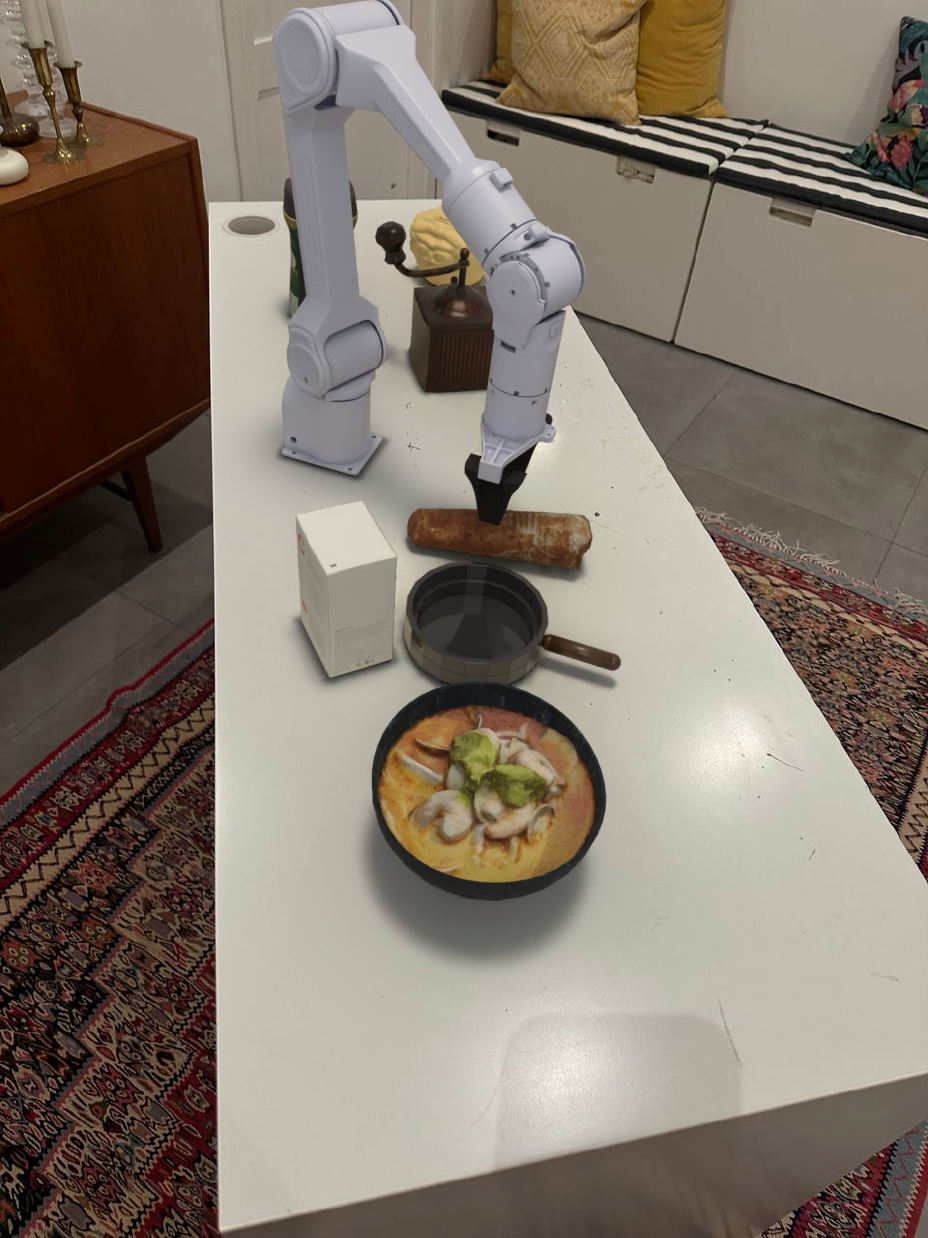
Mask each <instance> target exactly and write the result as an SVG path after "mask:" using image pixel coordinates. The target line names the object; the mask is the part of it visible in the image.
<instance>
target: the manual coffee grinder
mask: <svg viewBox="0 0 928 1238" xmlns="http://www.w3.org/2000/svg"><path fill="white" fill-rule="evenodd" d="M374 238H375V242H376V244H377V245H379V247H381V248H382V250H383V251H384V252H385V253H384V255H385V257H384V263H386V264H387V265H391V266H394V268H395V269H396V270H397V271H398V273H400V274H401V275H403V276H405V277H409V278H413V279H414V278H415V279H416V278H417V279H418V278H425V277H431V276H438V275H444V274H449V273H452V272H455V271H457V270H459V281H458V278H457V277H456V276H453V277H452V278H451V283H449V284H442V285H439V286H436V285H435V286H418V287H417V286H414V287H413V291H412V292H413V293H412V310H411V311H412V312H411V331H410V341H409V342H410V343H409V348H408V352H409V357H410V363H411V365H412V367H413V370H414V373H415V376H416V378H417V381H418V382H419V384H420V385H421V387H422V389H423V390H424V391H425V392H427V393H452V392H453V393H454V392H470V391H480V390H487V386H488V379H489V373H490V365H491V357H492V350H493V342H494V329H492V325H493V311H492V308H491V305H490V303H489V300H488V297H487V292H486V285H471V286H469V285H465V280H466V271H467V267H469V266H470V262H469V260H468V258H469V255H470V251H469V250H468V249H467V248H462V249H461V250H460V259H459V260H458V263H455V264H452V265H448V266H445V267H441V268H435V269H427V270H420V269H418V270H417V269H410V268H407V267H406V265H404V264H403V263H404V262H405V261H406V259H407V254H406V253H405V250H404V249H403V248H404V244H405V242H406V240H407V232H406V228H405V227H404V225H403V224H401V223H399V222H396V221H394V220H391V221H390V220H389V221H386V222H384V223H382V224H380V225H379V226H378V227H377V228H376V232H375V236H374Z"/></svg>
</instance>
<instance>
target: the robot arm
mask: <svg viewBox="0 0 928 1238" xmlns="http://www.w3.org/2000/svg"><path fill="white" fill-rule="evenodd" d="M404 21H405V20H404V19H403V17H402V15H401V13H400V11H399V9H398V8H396V6H395V5H394V4H393V3H392V1H390V0H361V1H353V2H346V3H339V4H333V5H326V6H319V7H312V8H308V7H304V6H303V7H296V8H293V9H292V10H290V11H289V12H288V13H287V14H286V15H285V16H284V18H283V20H282V21H281V22H280V24H279V26H278V27H277V28H276V29H275V32H274V33H273V34H272V37H271V40H272V48H273V55H274V63H275V71H276V77H277V86H278V93H279V100H280V108H281V115H282V122H283V130H284V131H283V132H284V138H285V145H286V153H287V161H288V167H289V169H288V170H289V175H290V178H291V184H292V191H293V199H294V206H295V214H296V221H297V229H298V237H299V244H300V252H301V259H302V267H303V274H304V282H305V289H306V297H305V299H304V301H303V302H302V304H301V305H300V306H299V308H298V309H297V311H296V312H295V313H294V315H293V316H291V318H290V319H289V321H288V323H287V329H288V330H287V331H288V344H287V348H286V361H287V367H288V371H289V373H290V375H289V377H288V379H287V380H286V383H285V386H284V388H283V393H282V400H281V412H282V427H283V441H284V442H283V443H284V447H283V448H282V450H281V454H282V455H283V456H285V457H287V458H291V459H294V460H298V461H302V462H304V463H305V462H306V463H309V464H312V465H316V466H319V467H322V468H327V469H329V470H333V471H337V472H340V473H342V474H346V475H349V476H353V477H355V476H358V475H359V474H360V473H361V472H362V470H363V469H364V467H365V466H366V465H367V463H368V461H369V460H370V458H371V457H372V455H373V454H374V453H375V452H376V450H378V448H379V446H380V445H381V444H382V442H383V437H382V436H381V435H377V434H375V433H371V403H372V402H371V400H372V399H371V394H372V382H374V381H375V380H376V371H377V370H378V369H380V368H381V367H383V365H384V364H385V362H386V360H387V356H388V345H387V341H386V336H385V334H384V332H383V329H382V327H381V322H380V318H379V308H378V307H377V306H376V304H374V303H373V302H372V301H371V300H369V299H368V298H365V297H364V296H362V295H361V294H360V287H359V286H360V285H359V275H358V265H357V253H356V252H357V251H356V243H355V242H356V241H355V229H354V230H353V219H352V208H351V197H350V186H349V180H350V177H349V167H348V154H347V145H346V134H345V124H346V122H347V121H348V120H349V119H350V117H351V116H352V115H353V114H354V113H355V111H356V110H363V111H368V112H374V113H375V112H376V113H379V114H381V115H383V116H384V117H385V119H386V120H387V121H388V122H389V124H390V125H391V126H392V127H393V128H394V130H395V131H396V132H397V133H398V135H399V136H400V137H401V138H402V139H403V141H404V142H405V143H406V144H407V145H408V147H409V148H410V149H411V150H412V152H413V153H414V154H415V155H416V156H417V157H418V159H419V160H420V161H421V162H422V163H423V165H424V166H425V167H426V168H427V170H428V171H429V172H430V173H431V175H432V176H433V177H434V178H435V179H436V181H437V182H438V183H439V184H440V186H442V193H441V195H442V196H441V205H442V211H443V213H444V214H445V216H446V217H447V218H448V220H449V221H450V223H451V224H452V226H453V227H454V228H455V230H456V231H457V232H458V234H459V235H460V237H461V238H462V239H463V241H464V242H465V244H466V245H467V246H468V248H469V249H470V251H471V252H472V253H473V255H474V256H475V258H476V259H477V260H478V262H479V263H480V265H481V266H482V268H483V269H484V270H485V274H486V275H487V277H486V278H485V286H486V292H487V297H488V300H489V303H490V305H491V308H492V311H493V325H492V329H494V342H493V350H492V357H491V365H490V373H489V379H488V386H487V389H486V393H485V403H484V410H483V412H482V414H481V418H480V424H479V425H480V441H481V455H479V454H477V453H476V454H475V453H470V454H469V455H468V457H467V459H466V460H465V462H464V467H463V468H464V475H465V476H466V478H467V480H468V481H469V483H470V485H471V487H472V490H473V493H474V498H475V504H476V509H477V511H478V517H479V520H480V521H483V522H486V523H490V524H493V525H496V526H498V525H499V524H500V523H501V521H502V519H503V517H504V514H505V512H506V510H508V506H509V503H510V501H511V498H512V496H513V495H514V494H515V493H516V491H518V490H519V489H520V487H521V486H522V485H523V483H524V482H525V479H526V476H527V475H528V473H527V469H528V467H529V464H530V462H531V459H532V457H533V454H534V452H535V450H536V447H537V446H538V444H539V443H545V444H551V443H552V442H553V441H554V439H555V437H556V434H557V427H556V426H554V425H552V423H553V419H554V418H553V416H552V415H551V414H550V413H548V408H549V407H548V406H549V403H550V397H551V392H552V386H553V380H554V377H555V371H556V366H557V362H558V361H557V360H558V356H559V351H560V345H561V341H562V335H563V330H564V324H565V320H566V315H567V309H565V308H567V307H569V306H570V305H571V304H573V303H574V302H575V301H577V300H578V299H579V298H580V296H581V295H582V293H583V291H584V288H585V286H586V277H587V275H586V273H587V272H586V266H585V262H584V259H583V257H582V254H581V252H580V251H579V250H578V247H577V245H576V242H575V241H574V240H573V239H571V238H569V236H567V235H564V234H561V233H559V232H558V233H557V232H554V231H553V230H551V228H549V226H548V225H546V226H545V225H544V224H543V223H542V222H540V221H539V219H538V218H537V217H536V216H535V214H534V212H533V211H532V210H531V208H530V207H529V205H528V204H527V203H526V201H525V200H524V198H523V197H522V195H521V194H520V193H519V192H518V190H517V189H516V187H515V186H514V184H513V182H514V178H513V176H512V175H511V174H510V172H509V170H508V169H507V168H506V167H503V168H502V167H501V166H500V164H499V163H498V161H497V162H496V161H494V160H490V159H482V158H478V157H476V156H475V153H473V151H472V149H471V148H470V146H469V144H468V143H467V141H466V139H465V138H464V136H463V134H462V133H461V131H460V129H459V127H458V126H457V124H456V123H455V121H454V119H453V118H452V116H451V114H450V113H449V111H448V109H447V108H446V107H445V104H444V102H442V100H441V98H440V96H439V95H438V93H437V91H436V90H435V87H434V86H433V85H432V83H431V81H430V80H429V78H428V76H427V75H426V73H425V72H424V70H423V69H422V67H421V65H420V63H419V62H418V60H417V57H418V49H417V45H418V44H417V37H416V35H415V32H413V30H412V29H411V28H410V27H409V26H408V25H407V24H405V22H404Z"/></svg>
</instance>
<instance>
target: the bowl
mask: <svg viewBox="0 0 928 1238" xmlns="http://www.w3.org/2000/svg"><path fill="white" fill-rule="evenodd" d="M371 767H372V768H371V797H372V799H371V800H372V805H373V810H374V812H375V813H374V814H375V816H376V820H377V824H378V827H379V829H380V832H381V834H382V835H383V838H384V839H385V841H386V843H387V844H388V846H389V847H390V849H391V851H392V852H393V853H394V854H395V856H397V858H398V859H399V860H400V861H401V862H402V863H403V865H404V866H405V867H406V868H407V869H408V870H410V871H411V872H413V873H414V874H415V875H417V876H418V877H419V878H420V879H421V880H423V881H424V882H426V883H427V884H429V885H430V886H433V887H435V888H437V889H439V890H441V891H442V892H445V893H447V894H451V895H453V896H454V895H455V896H457V897H461V898H464V899H468V900H474V901H475V900H476V901H478V900H479V901H487V902H501V901H506V900H514V899H518V898H523V897H527V896H528V895H531V894H532V895H533V894H536V893H539V892H541V891H544V890H546V889H547V888H549V887H550V886H552V885H553V884H555V883H556V882H559V881H560V880H561V879H562V878H564V877H566V876H567V875H569V874H570V873H571V872H572V870H574V869H575V867H577V865H579V863H580V862H581V861H582V860H583V859H584V858H586V857H585V856H586V855H587V854H588V852H589V850H590V848H591V847H592V845H593V843H594V842H595V840H596V838H597V837H598V836H599V834H600V831H601V827H602V826H603V823H604V819H605V814H606V810H607V789H606V782H605V778H604V774H603V770H602V767H601V764H600V762H599V759H598V757H597V756H596V753H595V752H594V749H593V748H592V746H591V744H590V743H589V741H588V740H587V738H586V736H585V735H584V734H583V733H582V732H581V730H580V729H579V728H578V727H577V725H576V724H575V723H574V722H573V721H572V720H571V719H570V718H569V717H568V716H566V714H564V713H563V712H562V711H561V710H560V709H558V708H557V707H555V706H554V705H553V704H551V703H549V702H547V701H546V700H545V699H543V698H542V697H539V696H538V695H536V694H533V693H531V692H530V691H527V690H524V689H522V688H519V687H516V686H513V685H509V684H507V685H505V684H501V683H494V682H482V681H471V682H462V683H456V684H446V685H443V686H439V687H435V688H433V689H431V690H429V691H427V692H424V693H422V694H421V695H419V696H416V697H415V698H414V699H412V700H411V701H409V702H408V703H407V704H406V705H404V706H403V707H402V708H401V709H399V711H397V713H396V714H395V715H394V716H393V718H392V719H391V720H390V721H389V723H388V724H387V726H386V727H385V729H384V731H383V732H382V734H381V736H380V738H379V741H378V743H377V745H376V747H375V752H374V756H373V760H372V766H371Z"/></svg>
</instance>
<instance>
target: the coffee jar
mask: <svg viewBox="0 0 928 1238" xmlns="http://www.w3.org/2000/svg"><path fill="white" fill-rule="evenodd" d="M349 186H350V197H351V208H352V219H353V230H354V231H355V228H356V225H357V223H358V218H359V211H358V203H357V197H356V191H355V189H354V188H355V187H354V185H353V183H352V182H351V180H350V179H349ZM282 214H283V218H284V221H285V224H286V226H287V229H288V232H289V244H290V245H289V246H290V263H289V264H290V268H289V288H288V290H289V291H288V293H289V294H288V301H289V303H288V304H289V312H290V316H291V317H292V316H293V315H294V313H295V312H296V311H297V309H298V308H299V306H300V305H301V304H302V302H303V301H304V299H305V297H306V289H305V282H304V274H303V267H302V259H301V252H300V244H299V237H298V229H297V221H296V214H295V206H294V199H293V191H292V184H291V177H287V178H286V179H285V181H284V188H283V205H282Z"/></svg>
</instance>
